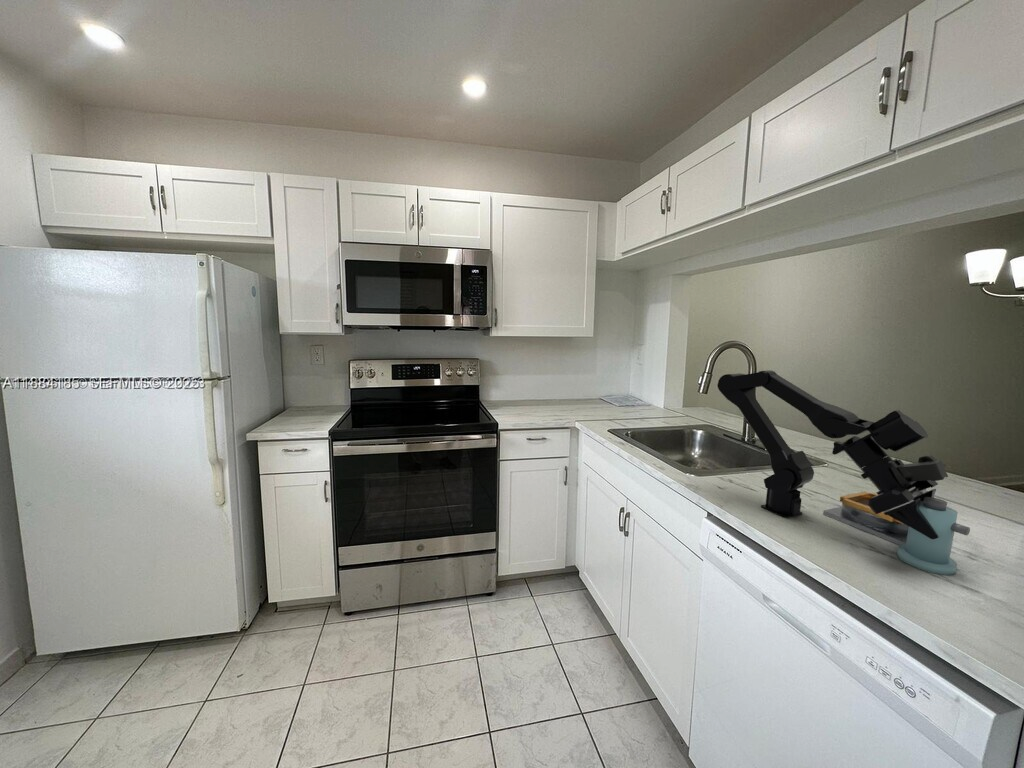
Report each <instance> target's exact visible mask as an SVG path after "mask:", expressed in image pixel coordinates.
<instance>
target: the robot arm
mask: <svg viewBox="0 0 1024 768" xmlns="http://www.w3.org/2000/svg"><path fill="white" fill-rule="evenodd" d="M760 387H762V388H764V389H765V390H767V391H768V392H770V393H771V394H772V395H775V396H776V397H778V398H779V399H780V400H782V401H784V402H786V404H789V405H790V406H791V407H793V408H795V409H796V410H798V411H799V412H801V413H802V414H803V415H804V416H806V417H807V419H808V420H809V421H810V423H811V424H812V425H813V426H814V427H815V429H817V430H818V431H819V432H820V433H822V434H823V435H824V436H825V437H828V438H831V439H841V438H846V437H849V436H851V437H850V438H848V439H846V440H844V441H840V440H838V441H834V442H833V448H832V451H831V454H832V455H838V454H841V453H843V452H845V454H846V455H847V456H848V457H849V458H850V460H851V461H852V462H853V464H855V465H856V466H857V467H858V468H859V469H860V471H861V472H862V473H861V474H860V476H861V477H862V478H863V479H864V480H865V479H869V481H871V483H872V484H873V485H874V486H875V487H876V489H877V490H878V491H876V492H875V494H878V495H877V496H875V497H873V498H871V499H869V503H868V506H869V507H870V508H871V509H872V510H873V512H874V513H875V514H878V513H881V512H884V511H886V510H887V511H886V512H884V514H885V515H888V516H890V517H892V518H894V519H896V520H898V521H900V522H902V523H904V524H906V525H907V526H909V527H911V528H913V529H915V530H916V531H918V532H920V533H922V534H923V535H925V536H927V537H929V538H930V539H937V538H938V535H937V533H936V532H935V530H934V529H933V527H932V526H931V525H930V523H929V522H928V521H927V519H926V518H925V516H924V515H923V514H922V512H921V511H920V509H919V507H920V501H924V498H925V497H933V498H935V494H936V492H937V489H936V488H935V487H936V486H938V485H939V483H938V482H937V481H943V480H945V478H948V477H949V475H948V473H947V471H946V464H945V463H943V462H942V460H941V459H937V458H936V457H934V456H933V455H931V454H929V455H922V456H919V457H918V461H917V462H912V463H911V462H910V463H904V462H903V461H902V460H901V459H899V458H894V459H893V458H892V456H890V455H889V454H888V452H887V451H888V450H891V451H893V452H899V451H901V450H903V449H904V450H905V449H906V448H908V447H910V446H912V445H914V444H916V443H919V442H921V441H923V440H925V439H927V438H928V437H929V434H928V432H927V431H926V430H925V429H924V427H923V426H922V425H921V424H920V422H918V421H916V420H914V419H913V418H911V417H910V416H909V415H906V414H904V413H903V412H902V411H901V410H900V409H895V410H892V411H891V412H890V413H888V414H886V416H884V417H882V418H880V419H878V420H876V421H870V420H867V419H865V418H864V419H863V418H860V417H858V415H857V414H855V413H853V412H851V411H850V410H848V409H845V408H842V407H839V406H837V405H835V404H830V403H827V402H824V401H822V400H820V399H818V398H817V397H815V396H813V395H812V394H810V393H808V392H807V391H805V390H803V389H801V388H800V387H799V386H797V385H795V384H794V383H792V382H790V381H788V380H786V378H783V377H782V376H781V375H779V374H777V373H776V371H774V370H767V369H766V370H760V371H757V372H753V373H748V374H745V373H739V372H738V373H728V374H727V373H726V374H723V375H721V376H720V377H719V379H718V381H717V389H718V391H719V392H720V393H721V394H722V396H724V398H725V399H726V400H727V401H729V402H731V404H733V405H735V406H736V407H737V408H738V409H739V411H740V412H741V414H742V415H743V417H744V418H745V420H746V422H747V423H748V424H749V426H750V428H751V429H752V431H753V432H754V433H755V435H756V437H757V438H758V439H759V441H760V443H761V445H763V447H764V449H765V450H766V452H767V453H768V455H769V460H770V465H771V469H772V471H773V474H771V475H770V476H768V477H766V478H764V479H763V482H764V488H765V489H766V498H765V503H764V504H761V505H760V508H762V509H764V510H766V511H769V512H770V513H773V514H775V515H777V516H779V517H782V518H785V519H788V518H792V517H795V516H800V515H803V511H801V507H802V498H801V490H799V489H802V488H803V487H804V486H805V484H807V483H809V482H812V480H813V479H814V477H815V471H814V468H813V466H814V463H812V462H811V461H810V460H809V458H808V457H807V455H806V453H805V452H804V451H803V450H799V451H795V450H794V449H792V448H791V446H789V445H788V443H787V442H786V441H785V439H784V438H783V436H782V435H781V433H780V432H779V431H778V429H777V427H776V426H775V424H774V423H773V422H772V420H771V419H770V418H769V416H768V415H767V413H766V412H765V410H764V409H763V407H762V406H761V404H760V403H759V401H758V400H757V397H756V396H757V395H756V389H755V388H760ZM868 432H869V433H868ZM864 433H868V434H867V435H864V436H863V437H860V436H857V435H860V434H861V435H862V434H864ZM929 488H933V489H930V490H928V489H929ZM889 509H890V510H889Z"/></svg>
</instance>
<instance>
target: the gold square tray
mask: <svg viewBox="0 0 1024 768" xmlns="http://www.w3.org/2000/svg"><path fill="white" fill-rule="evenodd" d="M877 495H878V494H877V493H876V492H867V491H860V492H856V493H851V494H845V495H841V496H839V497H840V498H839V502H841V503H842V505H841V506H838V507H834V508H830V509H824V510H823V513H822V515H824V516H826V517H829V518H832V519H834V520H836V521H839V522H841V523H843V524H846V525H849V526H851V527H854V528H856V529H858V530H861V531H864V532H866V533H867V534H868V533H869V534H871V535H873V536H876V537H879V538H882V539H884V540H886V541H888V542H891V543H893V544H896V545H898V546H900V545H906V540H907V534H908V528H909V526H907V525H906V524H904V523H902V522H900V521H898V520H896V519H894V518H892V517H890V516H888V515H885V514H884V512H886V511H887V510H886V511H884V512H881V513H878V514H875V513H874V512H873V510H872V509H871V508H870V507H869V506H868V503H869V499H871V498H873V497H875V496H877ZM889 510H890V509H889Z"/></svg>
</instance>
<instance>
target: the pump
mask: <svg viewBox="0 0 1024 768" xmlns="http://www.w3.org/2000/svg"><path fill="white" fill-rule="evenodd" d="M947 505H948V502H947V501H946V500H945V499H941V498H937V497H934V498H933V497H925V498H924V501H920V507H919V509H920V511H921V512H922V514H923V515H924V516H925V518H926V519H927V521H928V522H929V523H930V525H931V526H932V527H933V529H934V530H935V532H936V533H937V535H938V538H937V539H930V538H929V537H927V536H925V535H923V534H922V533H920V532H918V531H916V530H915V529H913V528H911V527H909V528H908V534H907V540H906V545H898V547H897V552H896V555H897V557H898V558H899V560H901V561H902V562H904V563H906V564H907V565H910V566H912V567H914V568H916V569H919V570H922V571H925V572H927V573H932V574H936V575H942V576H952V575H955V574H956V572H957V566H958V564H957V562H956V561H955V560H954V559H953V558H951V553H952V548H953V547H952V546H953V542H954V536H955V533H958V534H960V535H964V536H966V537H967V536H968V535H969V534H970V531H971V527H968V526H966V525H963V524H960V523H957V520H958V514H959V513H958V511H957V510H956V509H953V508H952V507H949V506H947Z"/></svg>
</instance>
